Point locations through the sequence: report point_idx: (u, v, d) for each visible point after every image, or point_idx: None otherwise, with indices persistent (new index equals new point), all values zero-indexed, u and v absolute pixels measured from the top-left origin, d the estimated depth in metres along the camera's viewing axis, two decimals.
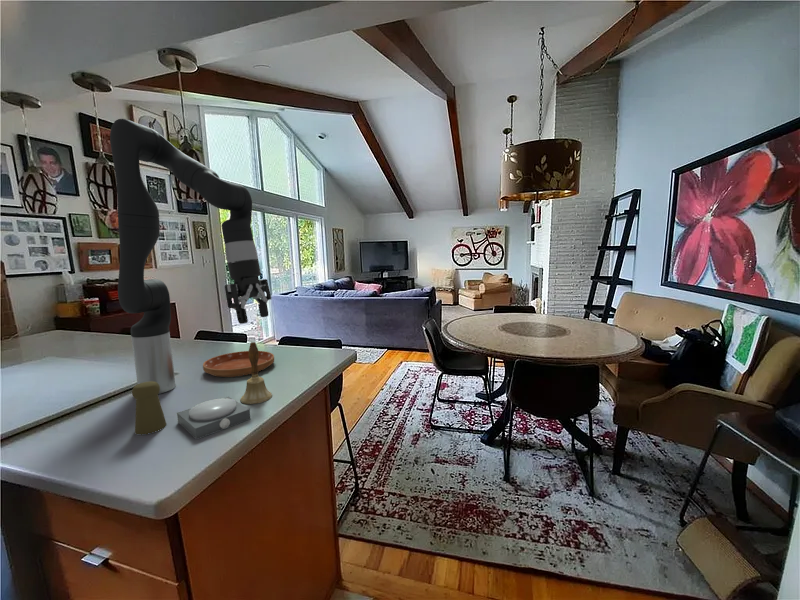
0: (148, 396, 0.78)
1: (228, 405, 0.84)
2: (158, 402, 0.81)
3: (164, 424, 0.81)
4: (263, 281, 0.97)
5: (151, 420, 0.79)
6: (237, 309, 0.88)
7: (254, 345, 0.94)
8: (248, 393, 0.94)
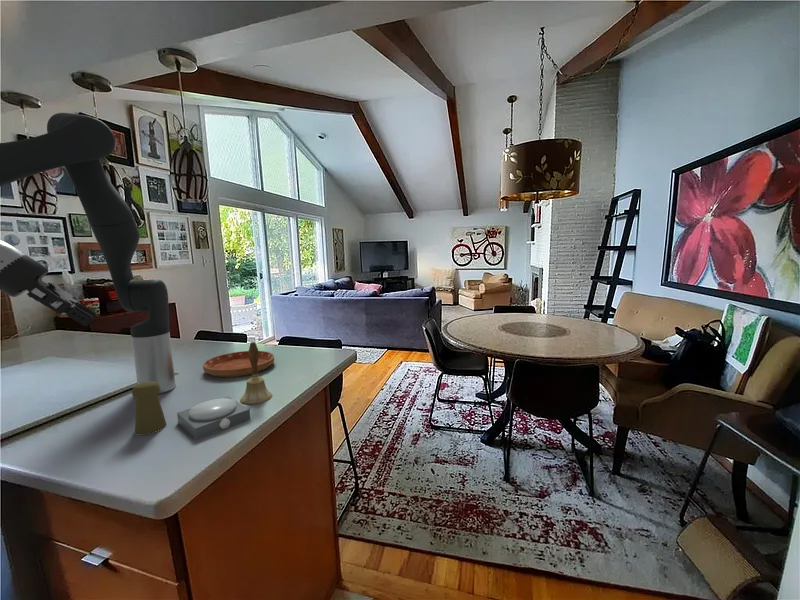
0: (148, 396, 0.78)
1: (228, 405, 0.84)
2: (158, 402, 0.81)
3: (164, 424, 0.81)
4: None
5: (151, 420, 0.79)
6: None
7: (254, 345, 0.94)
8: (248, 393, 0.94)
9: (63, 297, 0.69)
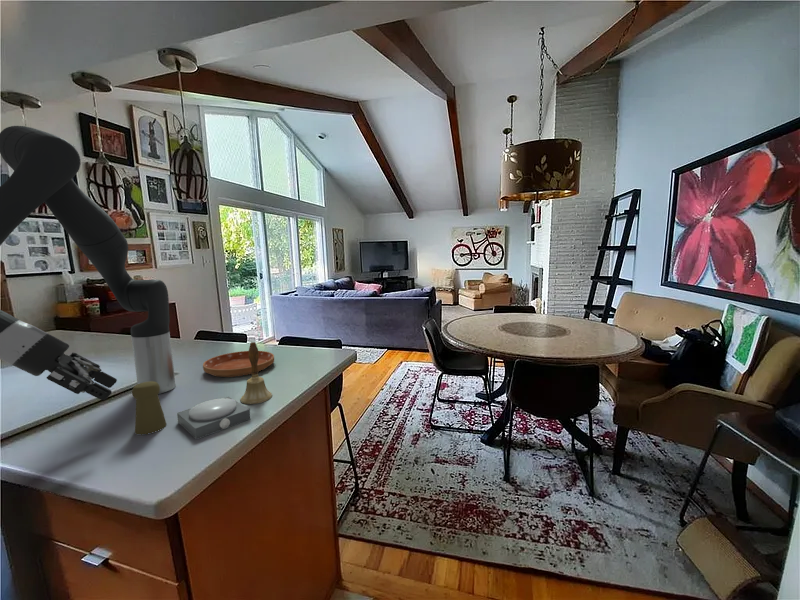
0: (148, 396, 0.78)
1: (228, 405, 0.84)
2: (158, 402, 0.81)
3: (164, 424, 0.81)
4: None
5: (151, 420, 0.79)
6: None
7: (254, 345, 0.94)
8: (248, 393, 0.94)
9: (82, 374, 0.70)
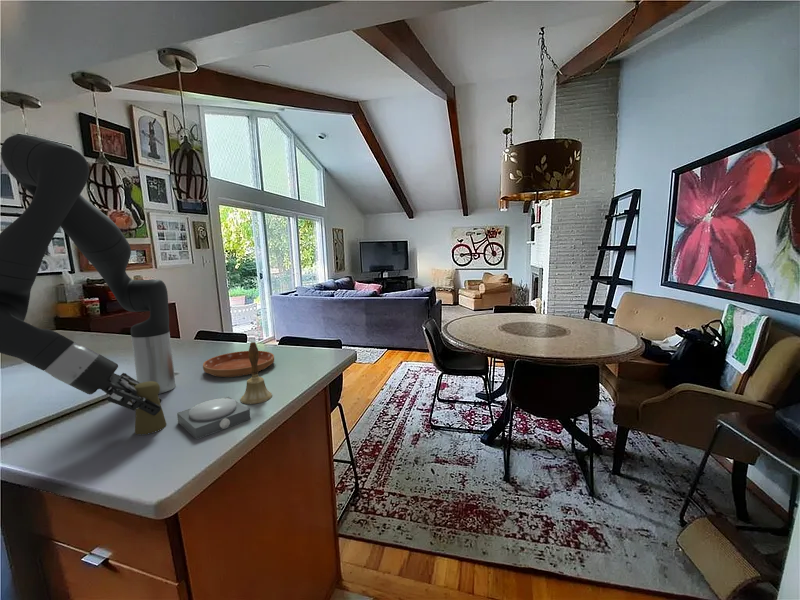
0: (148, 396, 0.78)
1: (228, 405, 0.84)
2: (158, 402, 0.81)
3: (164, 424, 0.81)
4: None
5: (151, 420, 0.79)
6: None
7: (254, 345, 0.94)
8: (248, 393, 0.94)
9: (135, 393, 0.76)
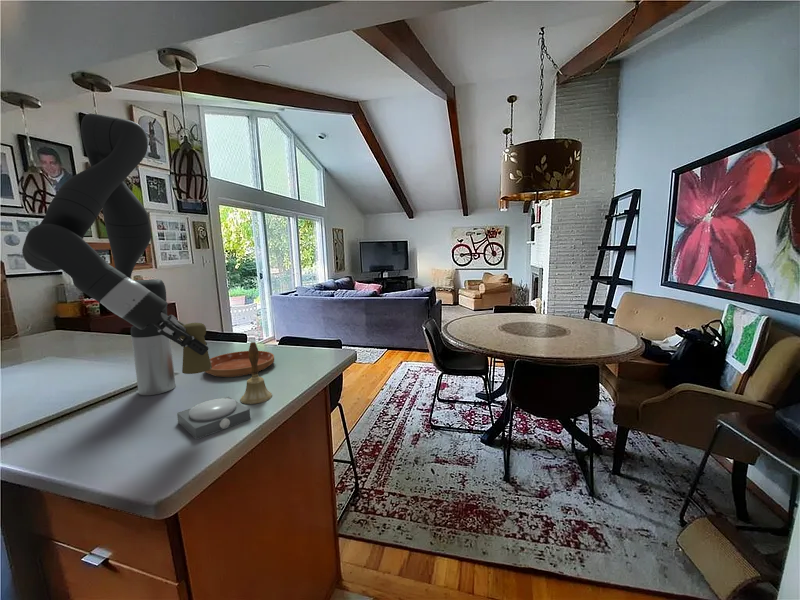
0: (196, 335, 0.78)
1: (228, 405, 0.84)
2: (204, 343, 0.81)
3: (210, 366, 0.81)
4: None
5: (198, 360, 0.79)
6: None
7: (254, 345, 0.94)
8: (248, 393, 0.94)
9: (184, 330, 0.76)
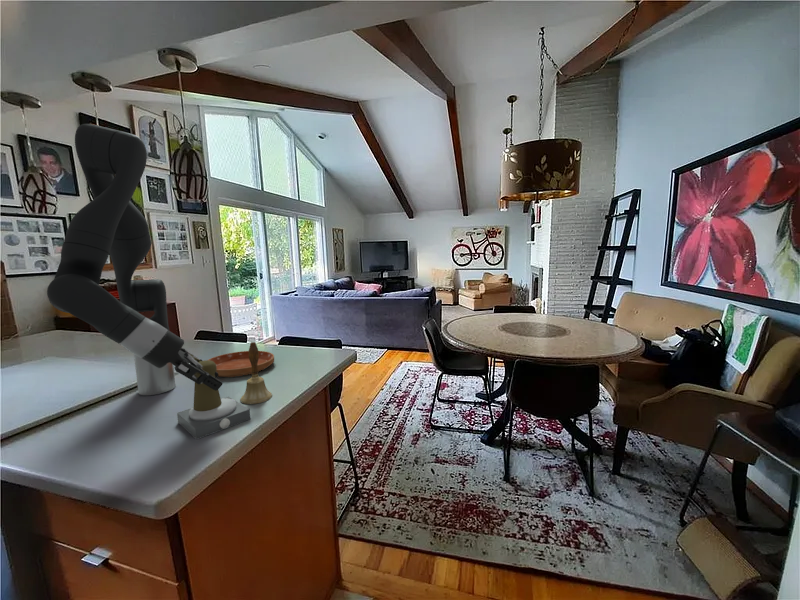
0: None
1: (228, 405, 0.84)
2: None
3: (220, 401, 0.84)
4: None
5: (209, 398, 0.82)
6: None
7: (255, 345, 0.94)
8: (248, 393, 0.94)
9: (199, 367, 0.78)
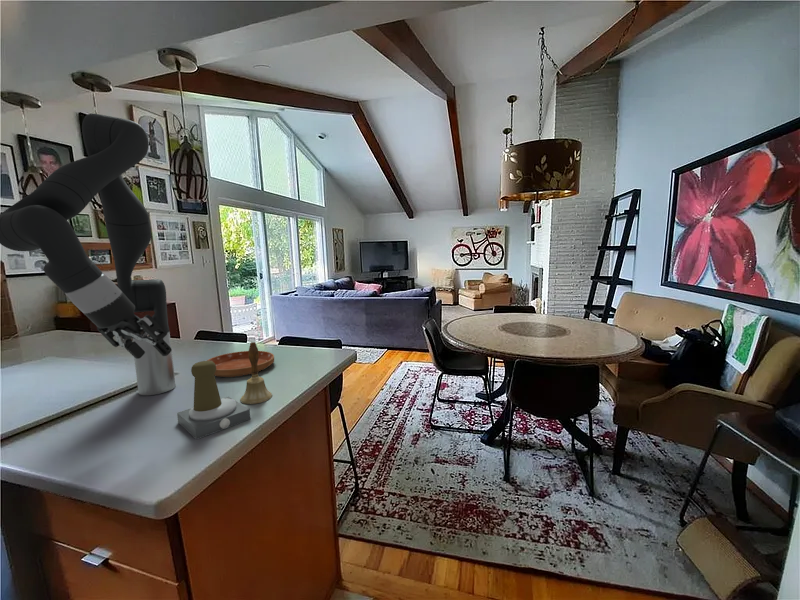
0: (207, 374, 0.81)
1: (228, 405, 0.84)
2: (215, 380, 0.84)
3: (220, 402, 0.85)
4: None
5: (209, 397, 0.82)
6: None
7: (254, 345, 0.94)
8: (248, 393, 0.94)
9: None
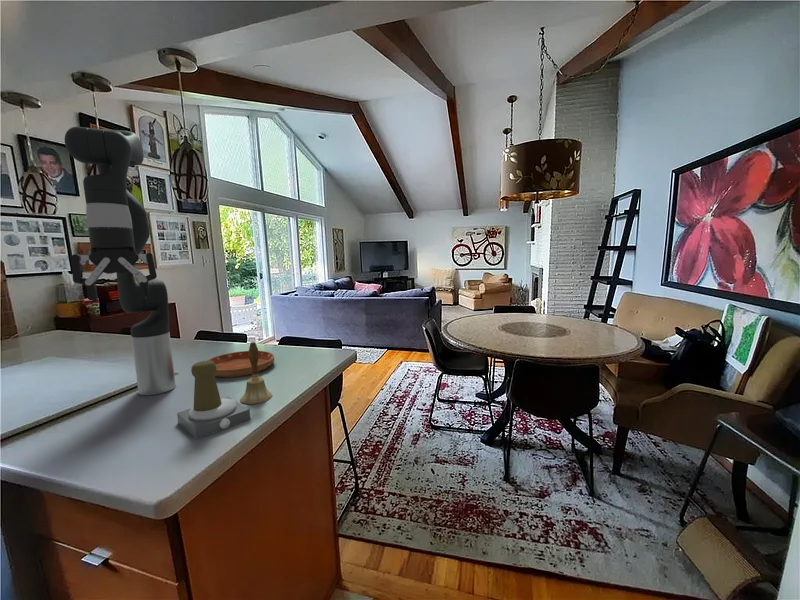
0: (207, 374, 0.81)
1: (228, 405, 0.84)
2: (215, 380, 0.84)
3: (220, 402, 0.85)
4: (146, 255, 0.79)
5: (209, 397, 0.82)
6: None
7: (254, 345, 0.94)
8: (248, 393, 0.94)
9: (139, 271, 0.80)
